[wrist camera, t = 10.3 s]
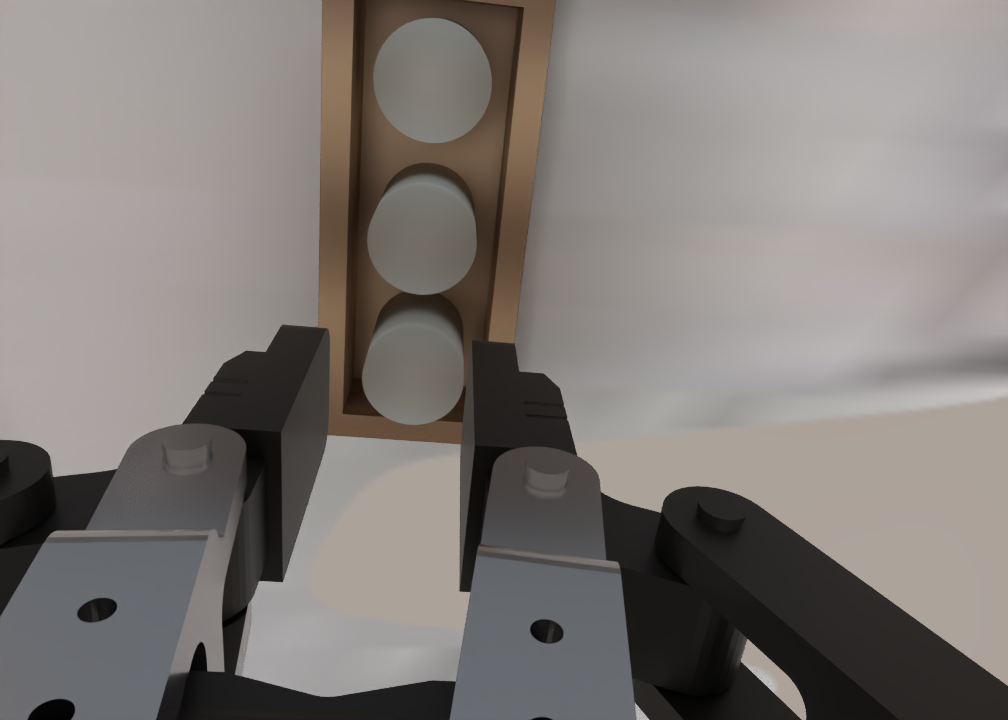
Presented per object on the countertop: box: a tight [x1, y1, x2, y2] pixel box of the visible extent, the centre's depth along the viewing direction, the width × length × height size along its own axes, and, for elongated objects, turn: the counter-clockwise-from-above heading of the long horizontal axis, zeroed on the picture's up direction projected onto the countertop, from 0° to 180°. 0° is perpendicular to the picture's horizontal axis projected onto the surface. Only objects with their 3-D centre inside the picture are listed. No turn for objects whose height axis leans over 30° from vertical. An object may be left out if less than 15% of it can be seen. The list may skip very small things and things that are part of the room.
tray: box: [318, 0, 556, 444], centre depth 24 cm, size 14×6×5 cm, turn 174°
